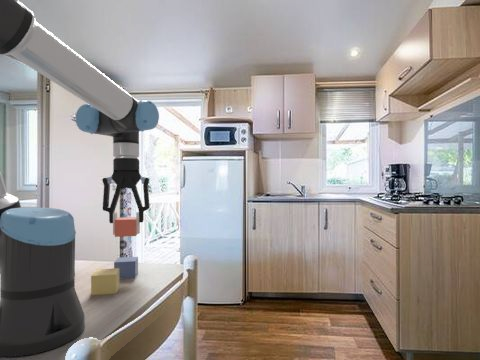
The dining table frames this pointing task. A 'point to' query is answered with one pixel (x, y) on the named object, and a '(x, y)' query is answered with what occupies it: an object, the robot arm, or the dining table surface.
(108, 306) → the dining table surface
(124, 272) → the blue cube
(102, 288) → the mustard brick
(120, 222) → the red brick
